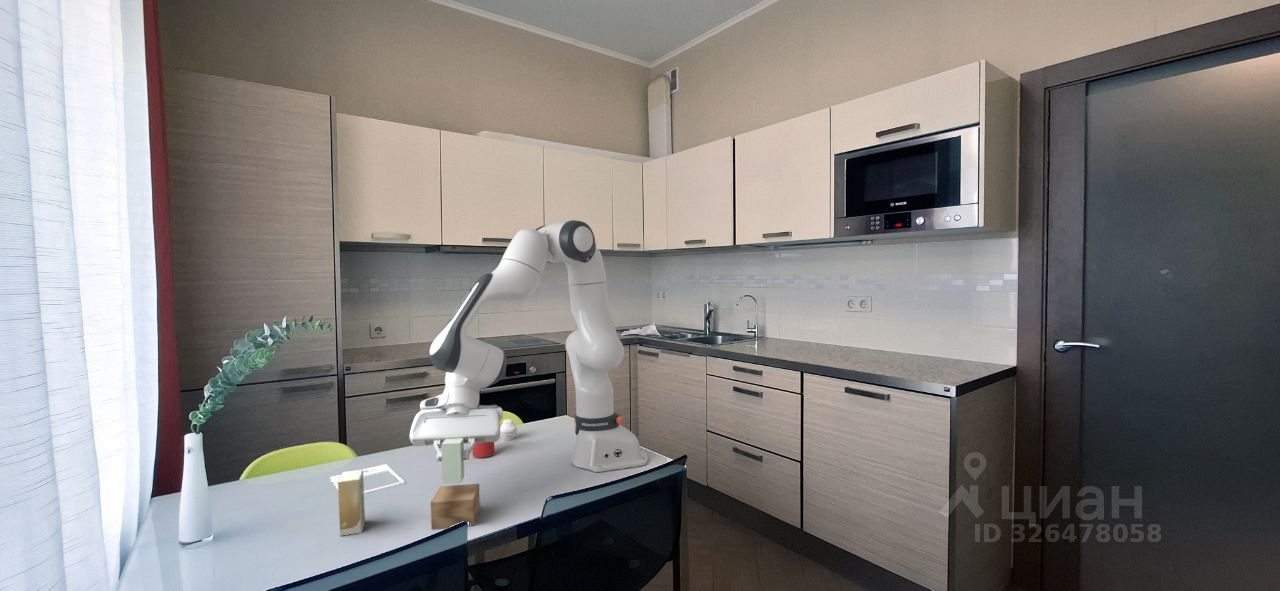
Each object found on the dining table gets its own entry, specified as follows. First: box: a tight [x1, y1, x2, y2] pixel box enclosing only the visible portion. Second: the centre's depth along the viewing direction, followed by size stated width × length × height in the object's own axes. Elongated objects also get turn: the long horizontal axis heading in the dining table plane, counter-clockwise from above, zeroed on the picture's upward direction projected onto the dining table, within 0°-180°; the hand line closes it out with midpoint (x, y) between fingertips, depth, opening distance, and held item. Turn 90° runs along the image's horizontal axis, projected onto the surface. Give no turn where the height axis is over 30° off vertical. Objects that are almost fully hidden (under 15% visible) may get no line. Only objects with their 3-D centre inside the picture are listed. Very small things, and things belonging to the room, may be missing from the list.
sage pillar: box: [441, 438, 465, 485], centre depth 121 cm, size 4×4×9 cm
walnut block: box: [430, 483, 481, 530], centre depth 122 cm, size 9×9×6 cm
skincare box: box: [337, 469, 366, 537], centre depth 118 cm, size 6×4×12 cm
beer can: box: [471, 442, 496, 459], centre depth 165 cm, size 7×7×12 cm
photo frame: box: [329, 463, 406, 494], centre depth 146 cm, size 15×1×18 cm
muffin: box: [500, 418, 518, 441], centre depth 180 cm, size 6×6×7 cm
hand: (452, 459), depth 121 cm, fingers closed on sage pillar, 4 cm apart
